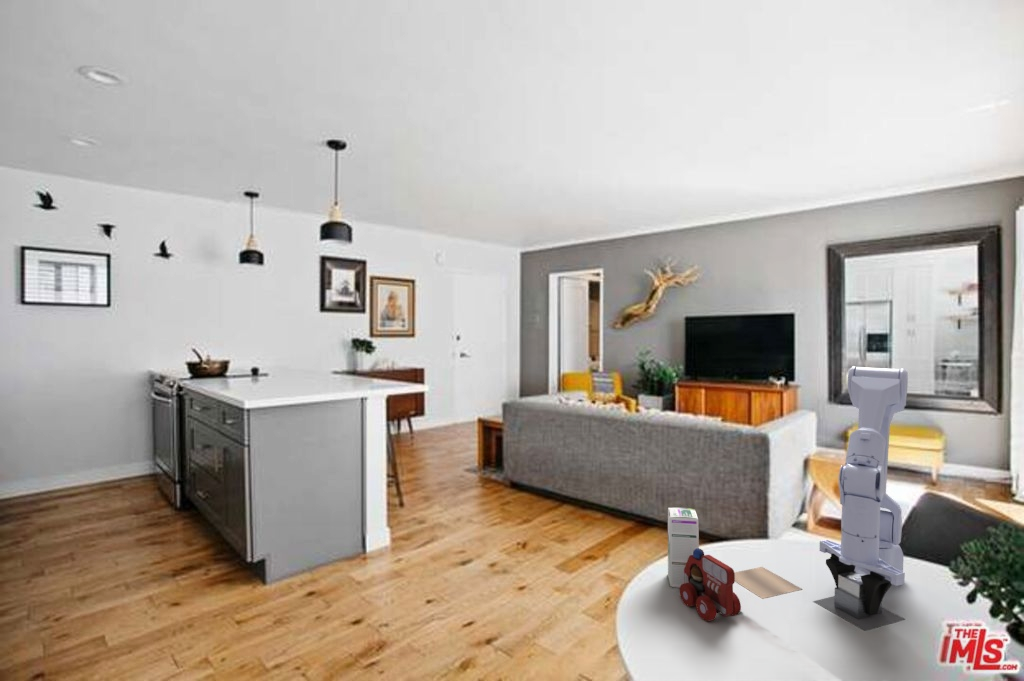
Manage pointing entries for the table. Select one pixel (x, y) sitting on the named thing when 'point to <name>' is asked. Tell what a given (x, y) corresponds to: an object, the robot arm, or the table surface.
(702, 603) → the toy fire truck
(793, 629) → the table surface
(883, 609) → the stand
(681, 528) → the syrup box
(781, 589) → the stand
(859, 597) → the housing
